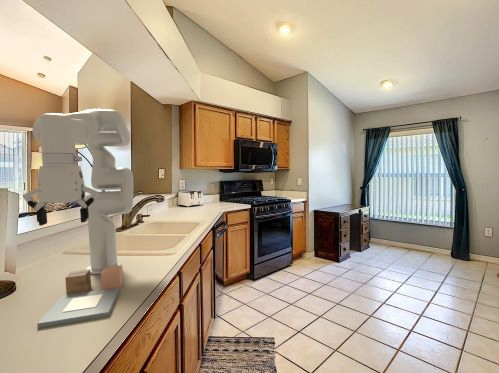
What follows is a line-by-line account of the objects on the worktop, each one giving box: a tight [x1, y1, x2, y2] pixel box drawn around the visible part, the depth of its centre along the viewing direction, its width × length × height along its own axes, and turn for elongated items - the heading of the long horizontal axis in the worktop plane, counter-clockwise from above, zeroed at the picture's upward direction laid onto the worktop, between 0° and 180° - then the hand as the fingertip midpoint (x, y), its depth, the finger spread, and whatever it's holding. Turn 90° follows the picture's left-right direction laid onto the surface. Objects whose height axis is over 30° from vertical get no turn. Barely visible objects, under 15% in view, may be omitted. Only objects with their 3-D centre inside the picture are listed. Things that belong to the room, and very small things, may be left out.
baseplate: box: [36, 287, 121, 329], centre depth 75 cm, size 16×16×1 cm
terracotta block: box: [100, 265, 124, 290], centre depth 89 cm, size 6×6×6 cm
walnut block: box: [64, 269, 92, 295], centre depth 86 cm, size 6×6×6 cm
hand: (64, 223), depth 72 cm, fingers open, 9 cm apart
